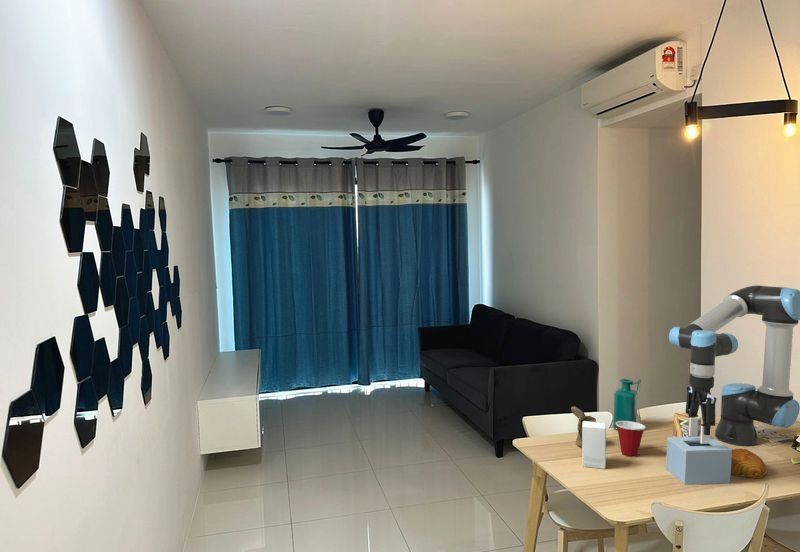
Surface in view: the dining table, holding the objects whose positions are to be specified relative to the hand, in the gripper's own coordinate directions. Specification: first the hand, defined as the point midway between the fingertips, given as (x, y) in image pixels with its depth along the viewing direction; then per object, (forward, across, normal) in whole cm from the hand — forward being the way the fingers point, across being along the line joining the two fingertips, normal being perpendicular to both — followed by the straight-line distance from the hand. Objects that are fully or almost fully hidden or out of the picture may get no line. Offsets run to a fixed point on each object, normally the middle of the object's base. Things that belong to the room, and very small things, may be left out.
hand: (698, 439), depth 191 cm
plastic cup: (+14, -20, -15) cm, 28 cm away
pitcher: (+14, -46, -4) cm, 48 cm away
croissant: (+14, -5, +19) cm, 24 cm away
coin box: (+13, 0, 0) cm, 13 cm away
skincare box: (+14, -11, -33) cm, 37 cm away
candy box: (+14, -19, +7) cm, 24 cm away
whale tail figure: (+14, -28, -30) cm, 43 cm away
